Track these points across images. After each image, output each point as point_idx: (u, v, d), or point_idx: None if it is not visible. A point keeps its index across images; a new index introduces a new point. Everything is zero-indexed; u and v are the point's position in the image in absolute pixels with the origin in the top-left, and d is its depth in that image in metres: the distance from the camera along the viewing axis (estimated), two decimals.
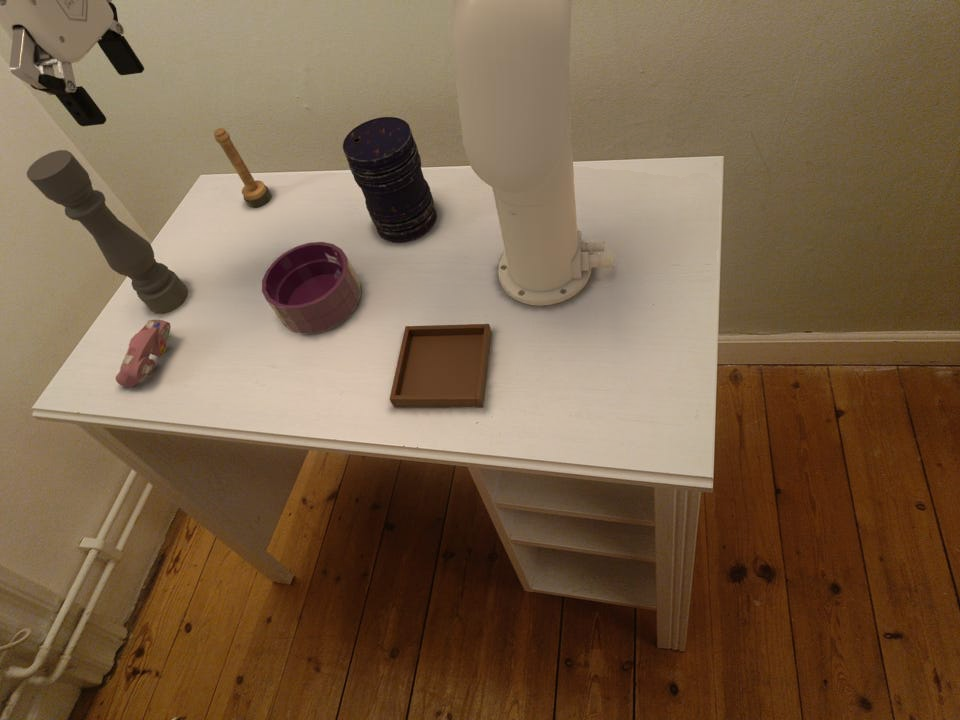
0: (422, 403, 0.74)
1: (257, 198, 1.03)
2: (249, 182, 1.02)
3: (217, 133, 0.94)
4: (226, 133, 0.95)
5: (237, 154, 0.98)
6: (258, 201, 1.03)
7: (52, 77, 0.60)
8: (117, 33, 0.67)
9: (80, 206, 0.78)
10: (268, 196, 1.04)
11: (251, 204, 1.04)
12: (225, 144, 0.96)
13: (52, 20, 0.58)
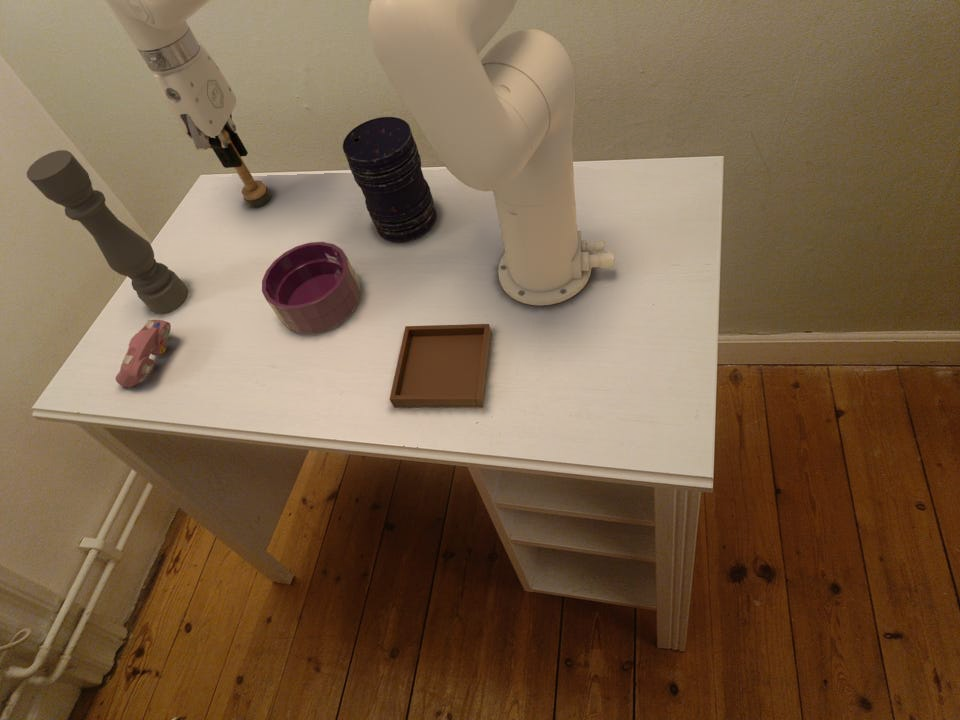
0: (422, 403, 0.74)
1: (257, 198, 1.03)
2: (249, 182, 1.02)
3: None
4: (226, 133, 0.95)
5: None
6: (258, 201, 1.03)
7: (215, 139, 0.93)
8: (232, 131, 0.96)
9: (80, 206, 0.78)
10: (268, 196, 1.04)
11: (251, 204, 1.04)
12: None
13: (206, 110, 0.87)
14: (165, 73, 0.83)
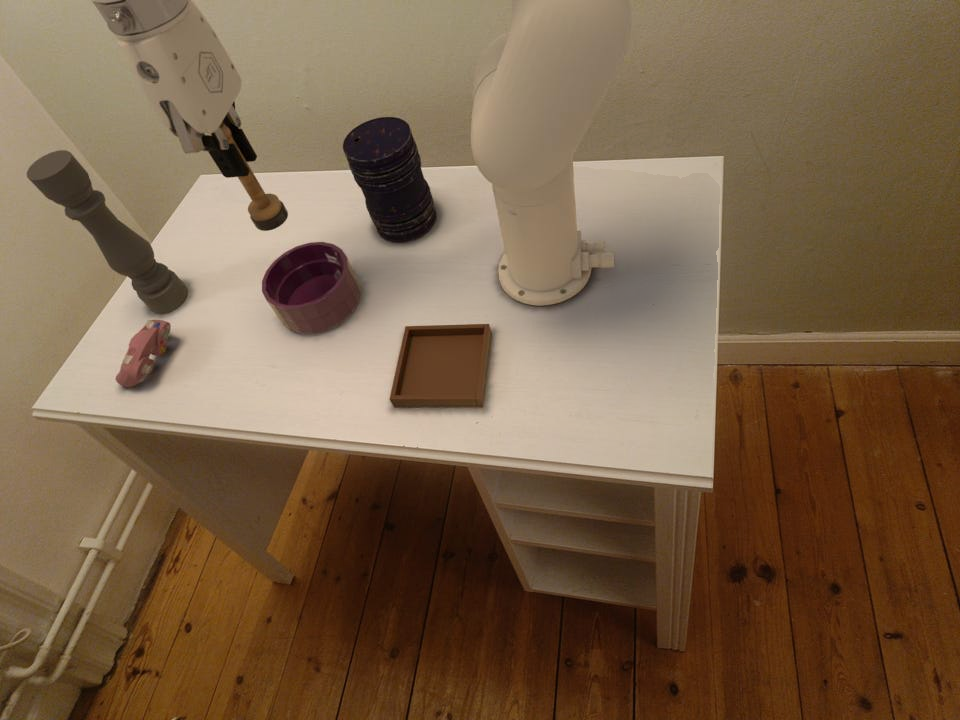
0: (422, 403, 0.74)
1: (269, 218, 0.75)
2: (259, 196, 0.74)
3: None
4: (226, 129, 0.67)
5: None
6: (270, 222, 0.76)
7: (211, 137, 0.65)
8: (236, 126, 0.68)
9: (80, 206, 0.78)
10: (284, 215, 0.76)
11: (261, 226, 0.76)
12: None
13: (197, 95, 0.60)
14: (135, 39, 0.56)
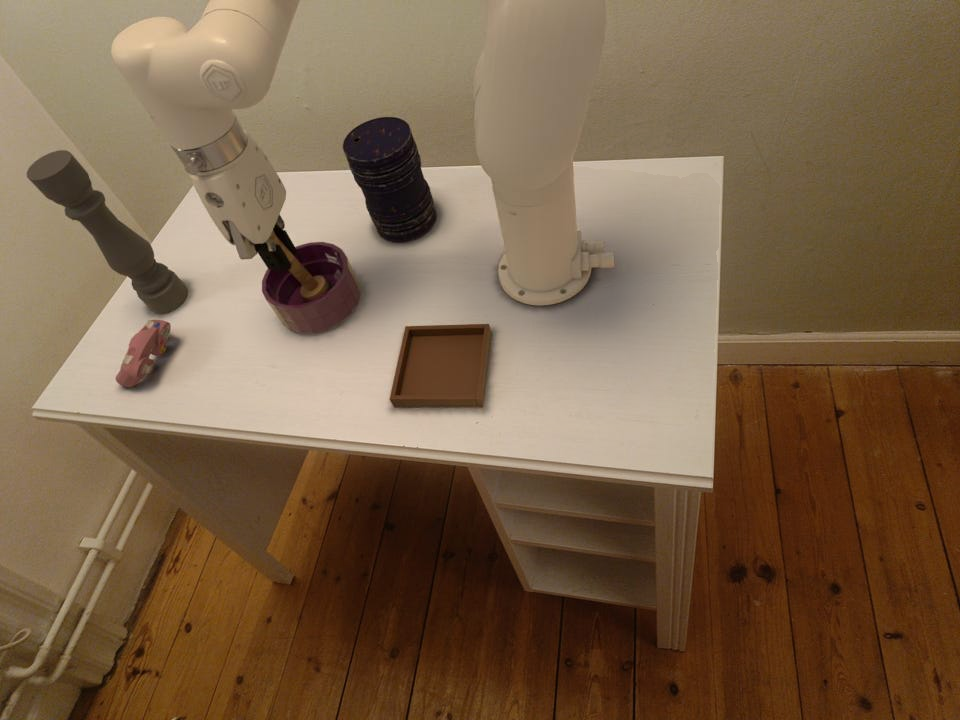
0: (422, 403, 0.74)
1: None
2: (307, 280, 0.83)
3: None
4: None
5: (287, 252, 0.80)
6: None
7: (262, 242, 0.75)
8: (280, 229, 0.79)
9: (80, 206, 0.78)
10: None
11: None
12: None
13: (253, 215, 0.70)
14: (205, 175, 0.66)
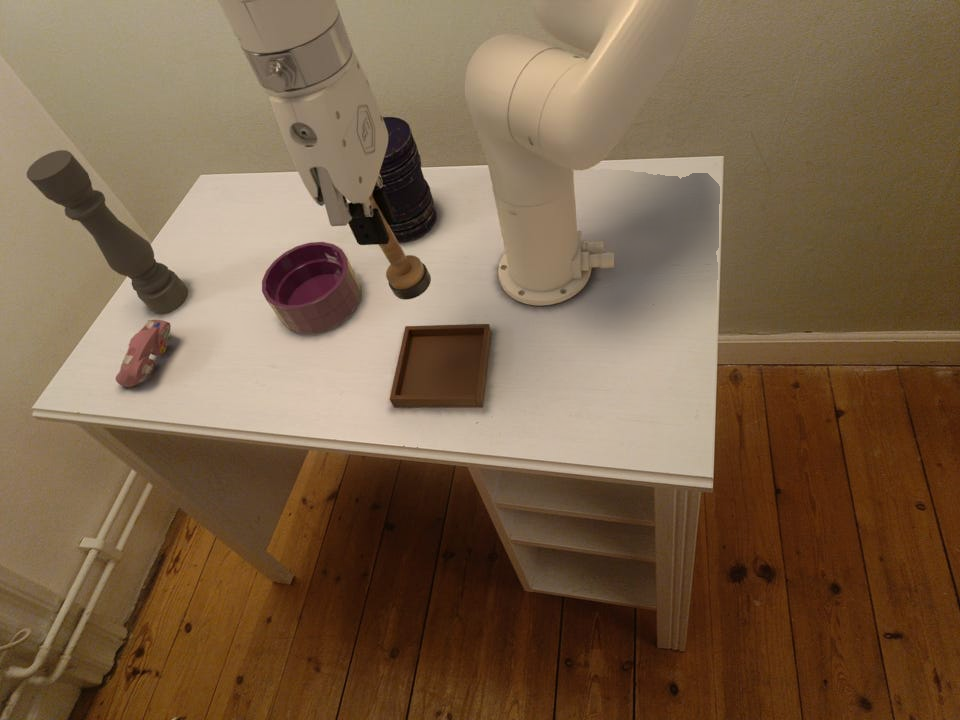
0: (422, 403, 0.74)
1: (409, 287, 0.64)
2: (399, 262, 0.62)
3: None
4: None
5: (383, 221, 0.59)
6: (410, 291, 0.64)
7: (357, 204, 0.54)
8: (377, 187, 0.57)
9: (80, 206, 0.78)
10: (426, 282, 0.65)
11: (399, 295, 0.65)
12: None
13: (355, 160, 0.49)
14: (292, 96, 0.45)
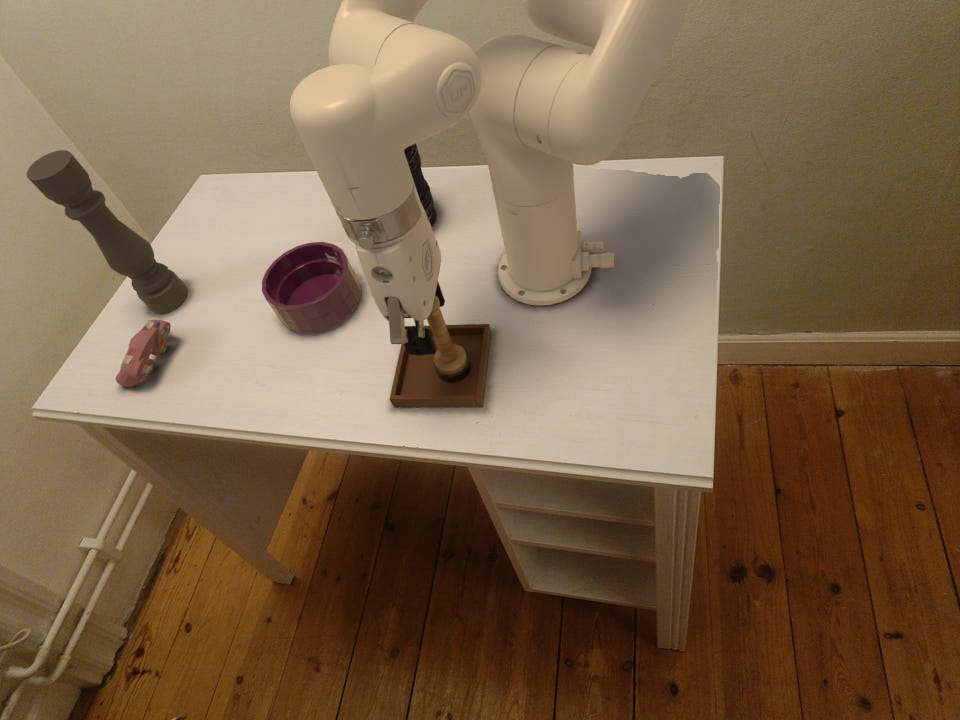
0: (422, 403, 0.74)
1: (455, 373, 0.74)
2: (449, 353, 0.73)
3: None
4: (437, 301, 0.66)
5: (443, 324, 0.69)
6: (455, 376, 0.74)
7: (413, 329, 0.63)
8: None
9: (80, 206, 0.78)
10: (468, 369, 0.75)
11: (444, 378, 0.75)
12: (432, 315, 0.67)
13: (421, 289, 0.59)
14: (375, 246, 0.55)
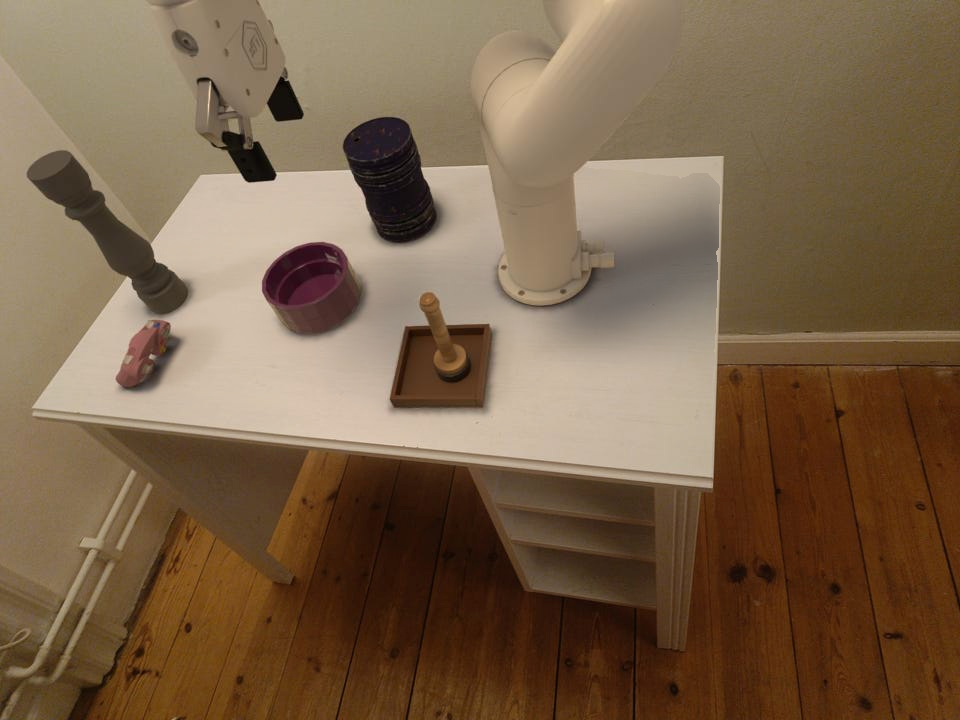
0: (422, 403, 0.74)
1: (455, 373, 0.74)
2: (449, 353, 0.73)
3: (425, 301, 0.66)
4: (437, 301, 0.66)
5: (443, 324, 0.69)
6: (455, 376, 0.74)
7: (233, 134, 0.53)
8: (282, 78, 0.61)
9: (80, 206, 0.78)
10: (468, 369, 0.75)
11: (444, 378, 0.75)
12: (432, 315, 0.67)
13: (240, 72, 0.51)
14: (171, 3, 0.47)
